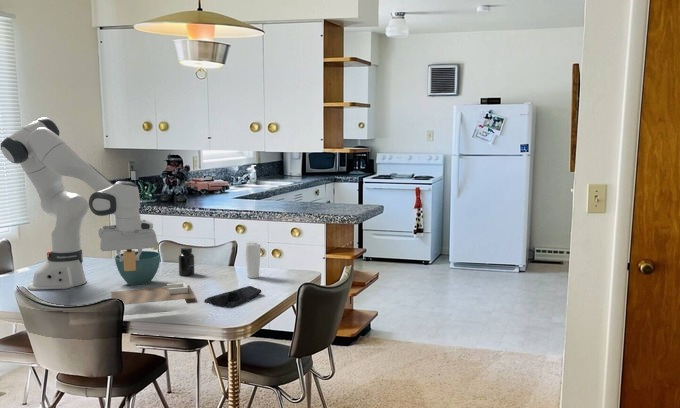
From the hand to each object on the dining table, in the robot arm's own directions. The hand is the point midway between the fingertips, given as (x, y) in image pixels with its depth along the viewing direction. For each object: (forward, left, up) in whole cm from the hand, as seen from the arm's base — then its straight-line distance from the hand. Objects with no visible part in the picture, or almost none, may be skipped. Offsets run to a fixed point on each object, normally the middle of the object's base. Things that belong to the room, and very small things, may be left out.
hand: (129, 261), depth 234 cm
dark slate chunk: (+38, -9, -17) cm, 42 cm away
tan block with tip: (0, 0, -3) cm, 3 cm away
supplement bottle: (+25, +38, -16) cm, 49 cm away
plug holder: (+17, +5, -14) cm, 23 cm away
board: (+8, +2, -16) cm, 18 cm away
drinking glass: (+52, +23, -16) cm, 59 cm away
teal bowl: (+4, +28, -16) cm, 33 cm away
